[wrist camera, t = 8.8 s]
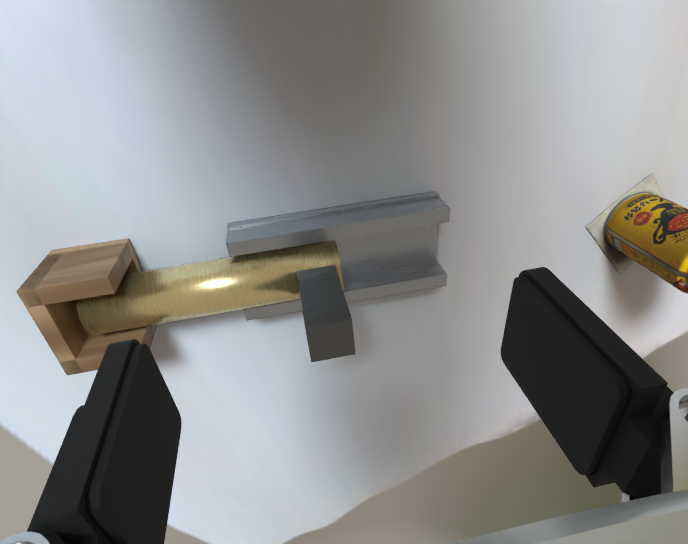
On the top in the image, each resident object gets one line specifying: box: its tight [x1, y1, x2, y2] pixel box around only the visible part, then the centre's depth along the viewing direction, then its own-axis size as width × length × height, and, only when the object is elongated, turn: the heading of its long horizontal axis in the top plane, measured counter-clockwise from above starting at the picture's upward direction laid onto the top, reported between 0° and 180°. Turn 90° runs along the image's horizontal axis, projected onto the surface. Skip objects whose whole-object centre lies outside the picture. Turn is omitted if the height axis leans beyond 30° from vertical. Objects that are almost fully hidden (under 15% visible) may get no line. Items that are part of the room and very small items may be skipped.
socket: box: [16, 239, 157, 375], centre depth 34 cm, size 8×6×6 cm
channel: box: [226, 191, 450, 320], centre depth 37 cm, size 8×18×3 cm, turn 95°
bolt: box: [76, 240, 355, 362], centre depth 32 cm, size 4×20×11 cm, turn 95°
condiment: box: [586, 173, 688, 293], centre depth 38 cm, size 7×8×12 cm
